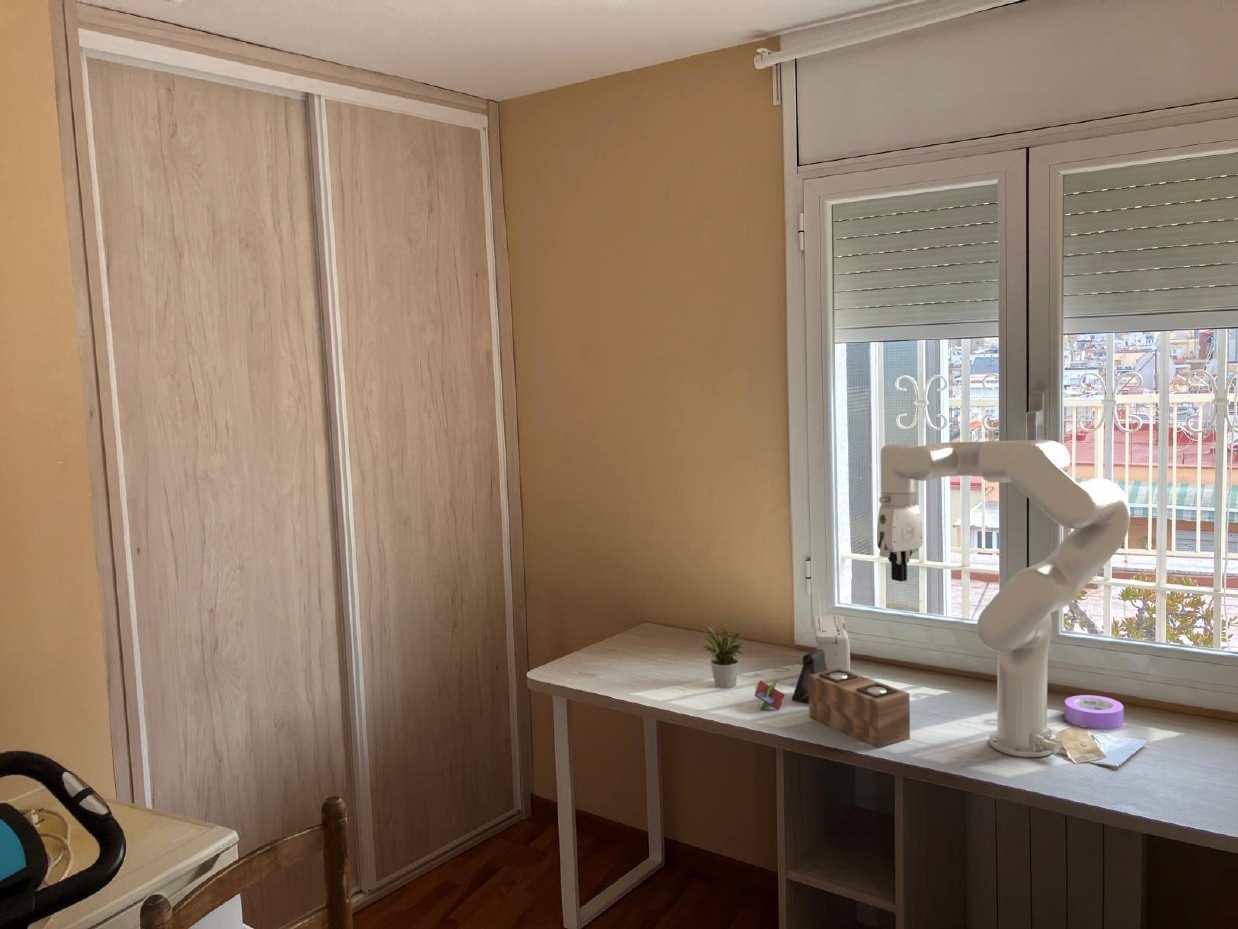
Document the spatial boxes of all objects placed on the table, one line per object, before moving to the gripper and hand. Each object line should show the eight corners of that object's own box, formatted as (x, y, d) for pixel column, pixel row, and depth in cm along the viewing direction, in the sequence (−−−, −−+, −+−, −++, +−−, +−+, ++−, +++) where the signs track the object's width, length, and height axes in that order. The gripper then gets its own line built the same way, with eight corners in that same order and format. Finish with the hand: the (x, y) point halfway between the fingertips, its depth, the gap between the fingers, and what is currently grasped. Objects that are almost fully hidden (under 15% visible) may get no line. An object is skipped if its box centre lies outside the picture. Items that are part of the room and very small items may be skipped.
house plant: (687, 693, 245) (685, 629, 243) (696, 675, 259) (694, 614, 257) (745, 696, 242) (743, 631, 240) (751, 678, 255) (749, 616, 253)
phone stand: (791, 700, 237) (790, 652, 236) (803, 693, 242) (802, 645, 241) (826, 707, 232) (825, 657, 231) (837, 700, 237) (836, 651, 235)
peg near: (890, 731, 212) (890, 690, 211) (877, 735, 210) (876, 694, 210) (877, 725, 216) (877, 685, 215) (863, 729, 214) (863, 689, 213)
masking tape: (1054, 720, 219) (1055, 703, 218) (1079, 707, 226) (1079, 691, 226) (1108, 734, 210) (1109, 717, 209) (1132, 720, 217) (1132, 703, 217)
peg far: (851, 714, 223) (851, 676, 222) (838, 718, 221) (837, 679, 220) (839, 709, 226) (839, 671, 225) (826, 713, 224) (825, 674, 223)
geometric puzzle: (796, 698, 232) (777, 669, 234) (783, 707, 227) (764, 677, 229) (774, 712, 236) (755, 683, 238) (761, 721, 230) (742, 691, 233)
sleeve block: (909, 738, 211) (909, 691, 210) (878, 748, 207) (878, 700, 206) (839, 709, 230) (838, 665, 229) (809, 717, 226) (808, 673, 225)
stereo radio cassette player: (850, 688, 244) (849, 609, 242) (816, 688, 246) (815, 609, 243) (845, 662, 265) (843, 589, 263) (813, 662, 266) (812, 589, 264)
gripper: (886, 505, 214) (887, 588, 216) (935, 497, 221) (935, 578, 223) (861, 501, 221) (862, 582, 223) (910, 494, 228) (910, 572, 230)
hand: (899, 579), depth 223 cm, fingers closed
